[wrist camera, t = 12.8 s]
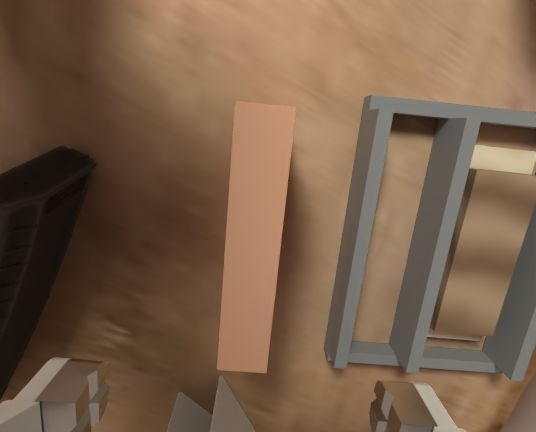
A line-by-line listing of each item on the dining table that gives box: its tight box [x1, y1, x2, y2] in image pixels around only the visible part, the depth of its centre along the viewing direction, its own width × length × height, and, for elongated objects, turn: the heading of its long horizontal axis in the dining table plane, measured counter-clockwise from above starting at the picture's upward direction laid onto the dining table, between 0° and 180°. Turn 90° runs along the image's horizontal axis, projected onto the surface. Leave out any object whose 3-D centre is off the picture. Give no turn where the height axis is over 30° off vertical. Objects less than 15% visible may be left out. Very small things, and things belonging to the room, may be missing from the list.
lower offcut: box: [427, 145, 536, 341], centre depth 34 cm, size 20×7×2 cm, turn 174°
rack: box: [324, 95, 536, 381], centre depth 32 cm, size 26×19×4 cm
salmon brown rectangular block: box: [217, 101, 296, 373], centre depth 27 cm, size 18×4×12 cm, turn 174°
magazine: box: [0, 146, 96, 399], centre depth 29 cm, size 17×3×30 cm
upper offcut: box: [430, 168, 536, 336], centre depth 32 cm, size 16×6×2 cm, turn 174°
